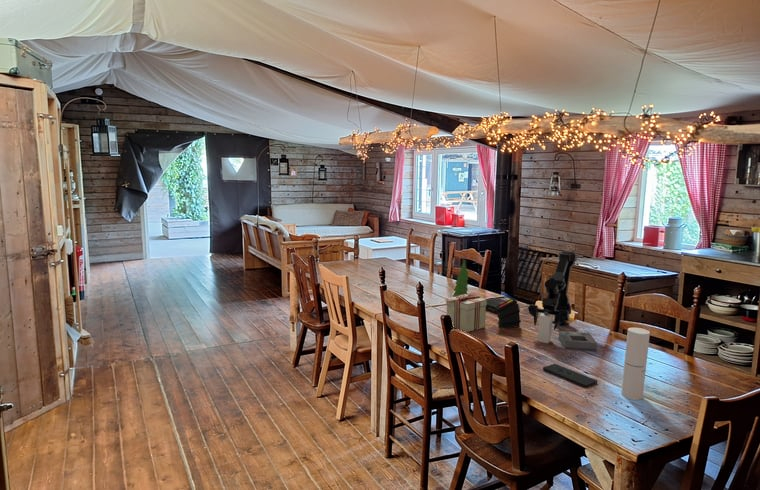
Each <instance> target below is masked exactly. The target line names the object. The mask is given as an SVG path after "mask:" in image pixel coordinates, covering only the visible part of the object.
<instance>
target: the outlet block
mask: <svg viewBox="0 0 760 490" xmlns="http://www.w3.org/2000/svg"><path fill="white" fill-rule="evenodd" d="M558 340H559V342H560V344H561V345H562V347H563V348H564V349H563V350H570V351H571V350H572V351H588V352H597V349H598V342H597V341H596V339H595V338H594V337H593V336H592V335H591V334H590V332H580V331H564V330H559V331H558Z"/></svg>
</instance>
